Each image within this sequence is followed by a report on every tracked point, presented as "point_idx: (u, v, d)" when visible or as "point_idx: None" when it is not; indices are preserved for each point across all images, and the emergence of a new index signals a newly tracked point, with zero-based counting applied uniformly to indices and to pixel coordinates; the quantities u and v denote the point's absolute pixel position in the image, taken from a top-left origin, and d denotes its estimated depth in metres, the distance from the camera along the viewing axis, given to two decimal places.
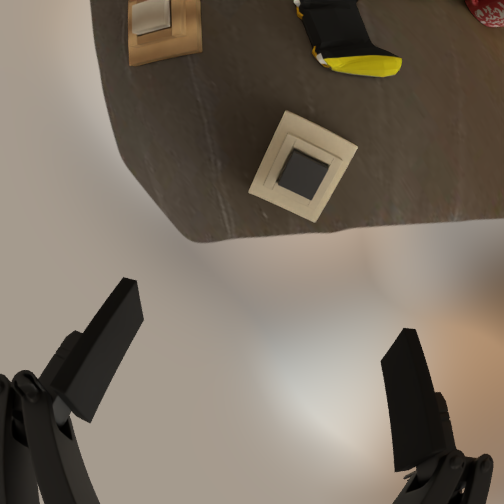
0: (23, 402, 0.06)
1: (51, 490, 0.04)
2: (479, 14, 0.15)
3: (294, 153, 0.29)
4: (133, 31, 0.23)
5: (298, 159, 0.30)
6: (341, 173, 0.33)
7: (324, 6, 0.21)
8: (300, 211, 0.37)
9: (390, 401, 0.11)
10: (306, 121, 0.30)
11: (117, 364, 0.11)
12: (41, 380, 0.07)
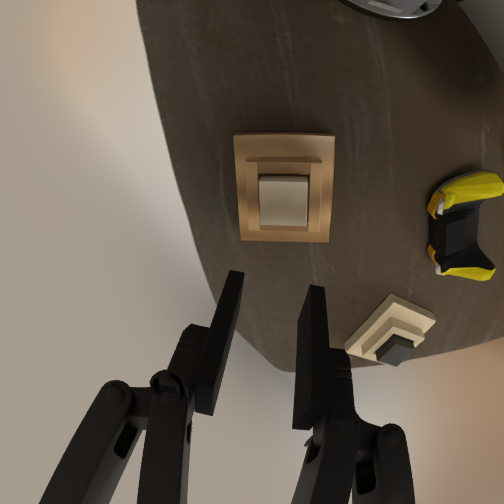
0: (153, 398, 0.08)
1: (154, 497, 0.05)
2: None
3: (396, 344, 0.33)
4: (262, 223, 0.27)
5: (397, 347, 0.34)
6: None
7: (456, 211, 0.25)
8: None
9: (297, 357, 0.13)
10: (406, 309, 0.34)
11: None
12: None
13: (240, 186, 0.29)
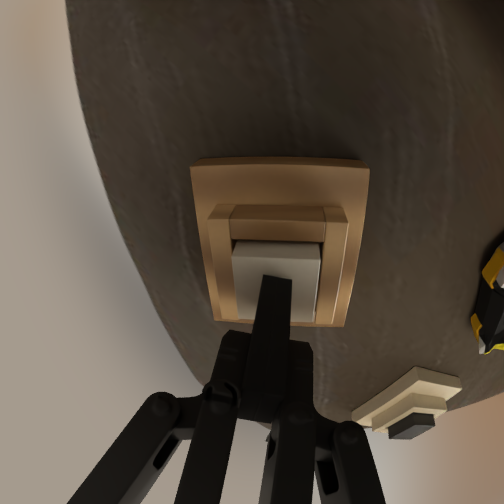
0: (201, 405, 0.08)
1: None
2: None
3: (414, 425, 0.22)
4: (241, 316, 0.16)
5: (415, 427, 0.23)
6: None
7: None
8: None
9: None
10: (432, 384, 0.23)
11: None
12: None
13: (207, 249, 0.18)
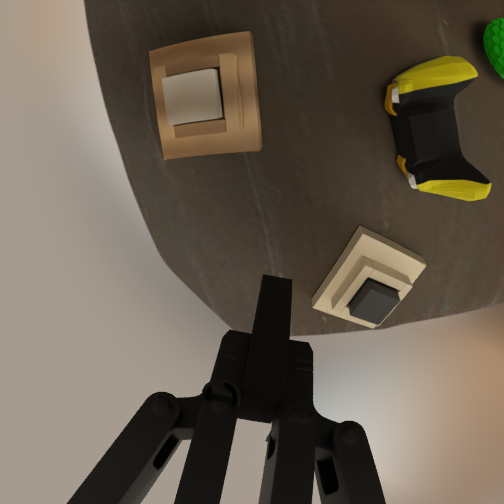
0: (201, 406, 0.08)
1: None
2: None
3: (371, 289, 0.27)
4: (169, 123, 0.21)
5: (374, 294, 0.28)
6: None
7: (422, 104, 0.19)
8: (361, 321, 0.35)
9: None
10: (382, 244, 0.28)
11: None
12: None
13: (158, 99, 0.23)
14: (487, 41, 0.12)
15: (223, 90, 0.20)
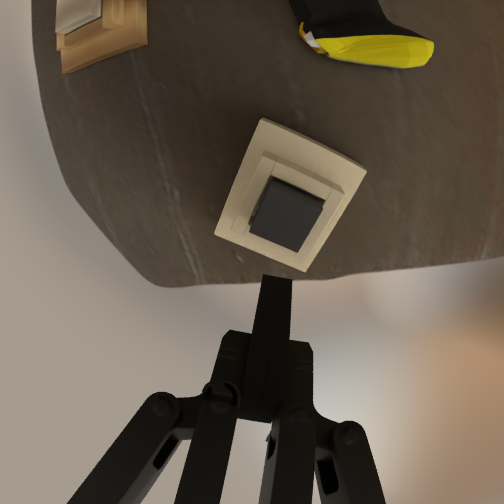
0: (201, 405, 0.08)
1: None
2: None
3: (271, 187, 0.20)
4: (56, 30, 0.13)
5: (277, 196, 0.20)
6: (342, 208, 0.24)
7: None
8: (285, 258, 0.28)
9: None
10: (291, 134, 0.21)
11: None
12: None
13: None
14: None
15: None
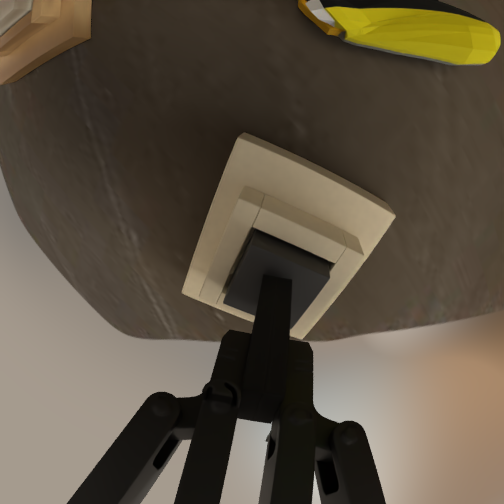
0: (201, 405, 0.08)
1: None
2: None
3: (252, 246, 0.13)
4: None
5: (262, 259, 0.14)
6: (356, 266, 0.17)
7: None
8: None
9: None
10: (286, 161, 0.14)
11: None
12: None
13: None
14: None
15: None
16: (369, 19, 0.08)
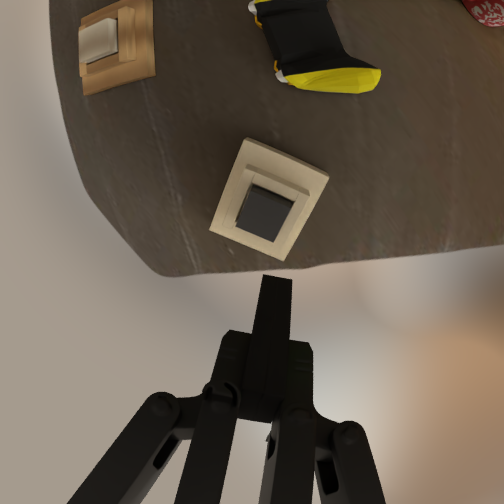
0: (201, 406, 0.08)
1: None
2: (477, 11, 0.13)
3: (251, 191, 0.27)
4: (80, 60, 0.21)
5: (256, 198, 0.27)
6: (310, 208, 0.31)
7: (287, 11, 0.19)
8: (266, 249, 0.34)
9: None
10: (268, 150, 0.28)
11: None
12: None
13: None
14: None
15: (118, 32, 0.20)
16: (306, 78, 0.22)
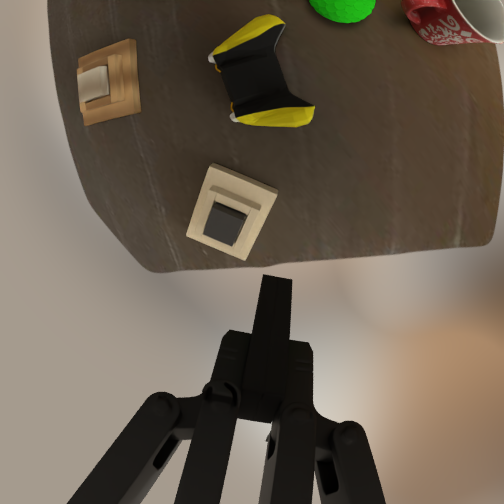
0: (201, 406, 0.08)
1: None
2: (423, 33, 0.21)
3: (212, 208, 0.35)
4: (80, 101, 0.29)
5: (216, 213, 0.36)
6: (263, 218, 0.39)
7: (240, 59, 0.27)
8: (231, 251, 0.43)
9: None
10: (228, 174, 0.36)
11: None
12: None
13: None
14: None
15: (109, 78, 0.28)
16: (254, 117, 0.30)
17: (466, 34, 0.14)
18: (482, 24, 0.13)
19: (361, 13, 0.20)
